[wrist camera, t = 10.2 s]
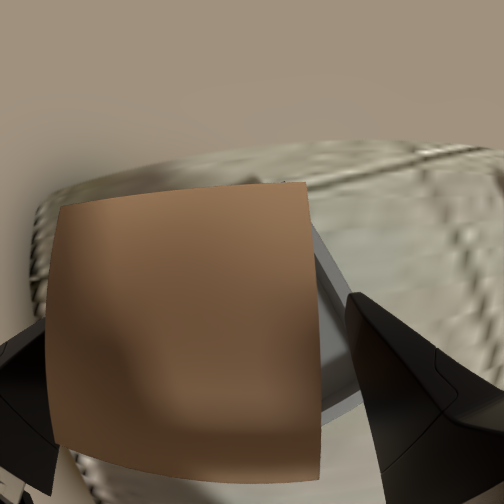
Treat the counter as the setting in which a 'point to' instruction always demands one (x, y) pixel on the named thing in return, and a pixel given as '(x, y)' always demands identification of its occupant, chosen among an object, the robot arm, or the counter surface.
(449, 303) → the counter surface
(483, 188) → the counter surface
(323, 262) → the box
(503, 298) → the counter surface
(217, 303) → the walnut block
